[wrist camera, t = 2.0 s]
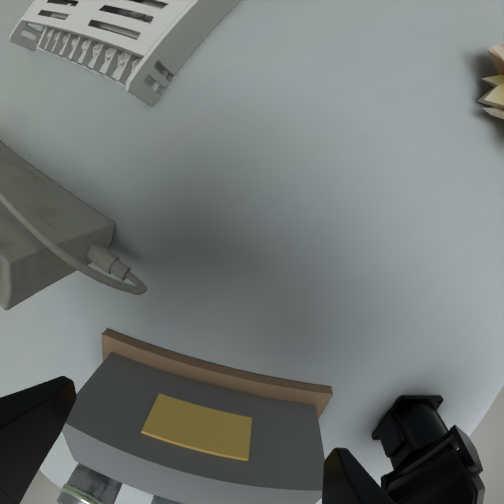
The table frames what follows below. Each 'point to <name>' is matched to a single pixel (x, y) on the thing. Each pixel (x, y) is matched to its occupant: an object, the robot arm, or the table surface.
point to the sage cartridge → (89, 488)
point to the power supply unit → (123, 36)
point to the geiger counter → (49, 235)
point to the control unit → (197, 428)
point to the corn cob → (495, 84)
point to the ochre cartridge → (163, 500)
